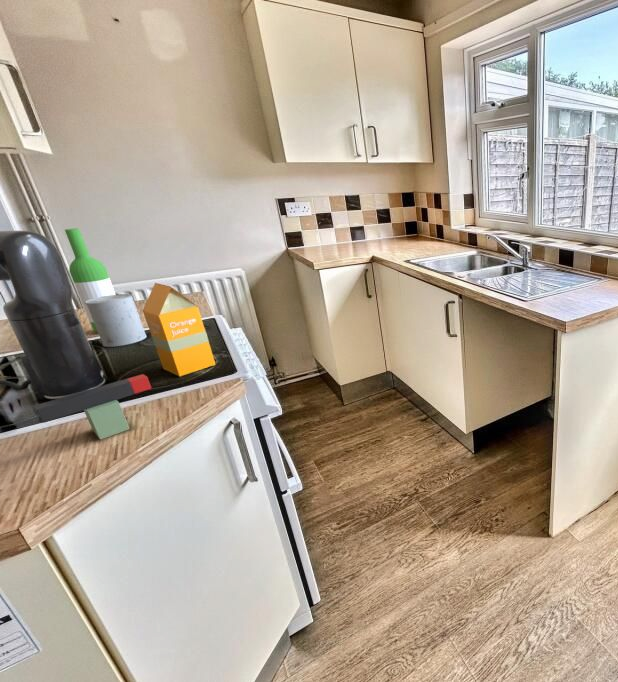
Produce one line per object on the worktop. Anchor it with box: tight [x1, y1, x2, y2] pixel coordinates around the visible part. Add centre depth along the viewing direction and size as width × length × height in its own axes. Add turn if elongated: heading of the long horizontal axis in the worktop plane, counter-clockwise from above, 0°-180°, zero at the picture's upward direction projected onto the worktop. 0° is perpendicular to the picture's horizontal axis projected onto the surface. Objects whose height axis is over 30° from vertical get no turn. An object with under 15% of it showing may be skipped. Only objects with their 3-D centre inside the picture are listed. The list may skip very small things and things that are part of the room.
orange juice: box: [142, 282, 216, 377], centre depth 97 cm, size 8×9×20 cm
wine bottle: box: [64, 228, 117, 333], centre depth 124 cm, size 8×8×30 cm
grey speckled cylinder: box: [85, 293, 147, 348], centre depth 117 cm, size 10×10×12 cm
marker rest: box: [83, 399, 131, 440], centre depth 74 cm, size 4×5×6 cm
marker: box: [34, 373, 152, 424], centre depth 72 cm, size 14×2×2 cm, turn 144°
